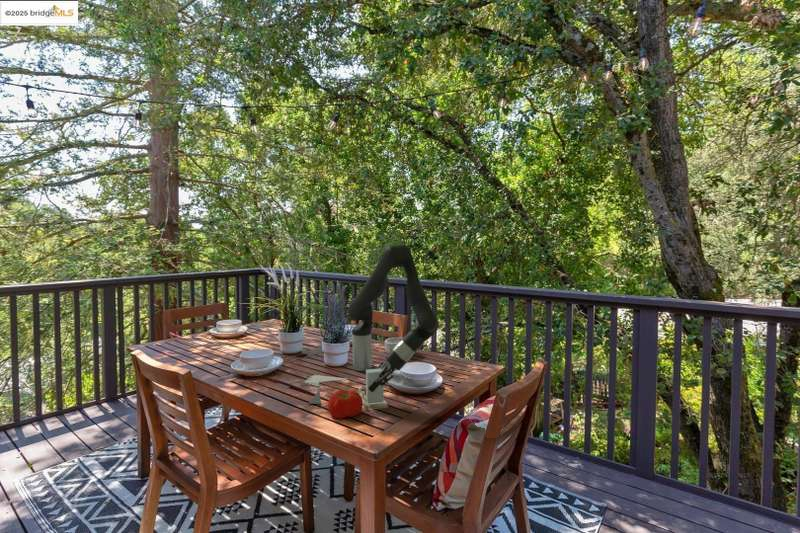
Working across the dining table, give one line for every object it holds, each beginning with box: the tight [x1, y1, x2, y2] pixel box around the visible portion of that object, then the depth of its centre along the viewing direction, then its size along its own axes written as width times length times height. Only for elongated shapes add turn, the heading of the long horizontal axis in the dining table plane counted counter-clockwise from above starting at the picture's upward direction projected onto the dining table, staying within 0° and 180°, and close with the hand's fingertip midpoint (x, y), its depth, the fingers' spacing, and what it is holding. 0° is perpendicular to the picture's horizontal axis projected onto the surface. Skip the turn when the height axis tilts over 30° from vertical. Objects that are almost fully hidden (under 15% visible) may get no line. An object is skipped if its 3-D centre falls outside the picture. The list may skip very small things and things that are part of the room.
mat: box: [308, 391, 322, 406], centre depth 168 cm, size 12×8×1 cm, turn 173°
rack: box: [357, 387, 390, 411], centre depth 165 cm, size 18×9×2 cm, turn 13°
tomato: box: [327, 389, 363, 420], centre depth 152 cm, size 14×13×9 cm
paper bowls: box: [384, 337, 404, 353], centre depth 226 cm, size 15×15×8 cm
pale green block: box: [365, 368, 384, 404], centre depth 159 cm, size 4×6×12 cm, turn 103°
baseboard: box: [301, 374, 348, 387], centre depth 183 cm, size 31×3×12 cm
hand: (369, 388), depth 159 cm, fingers closed on pale green block, 3 cm apart
